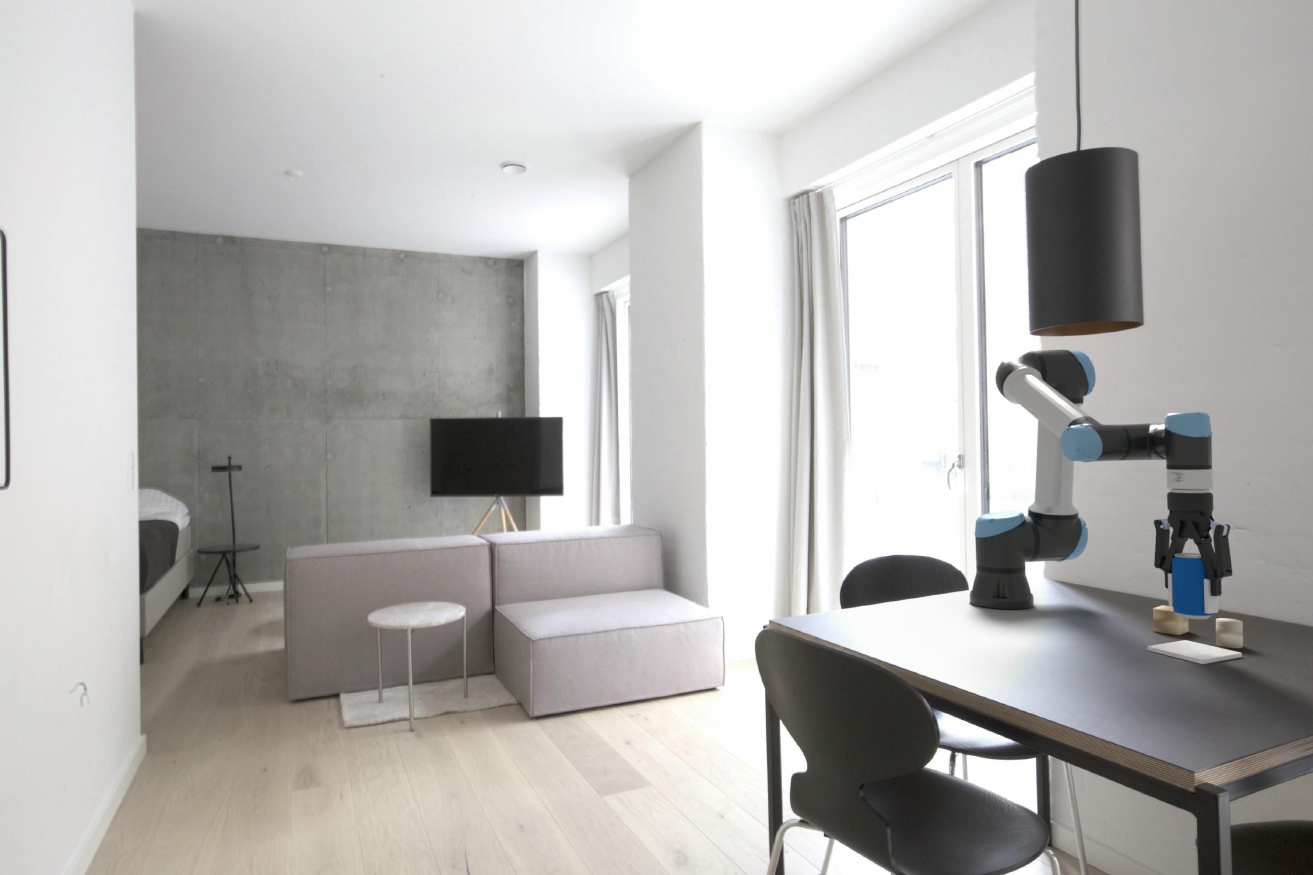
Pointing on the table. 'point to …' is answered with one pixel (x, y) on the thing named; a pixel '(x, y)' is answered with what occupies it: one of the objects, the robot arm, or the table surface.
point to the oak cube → (1169, 621)
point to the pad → (1194, 651)
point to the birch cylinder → (1229, 633)
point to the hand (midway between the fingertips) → (1193, 608)
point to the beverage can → (1189, 586)
